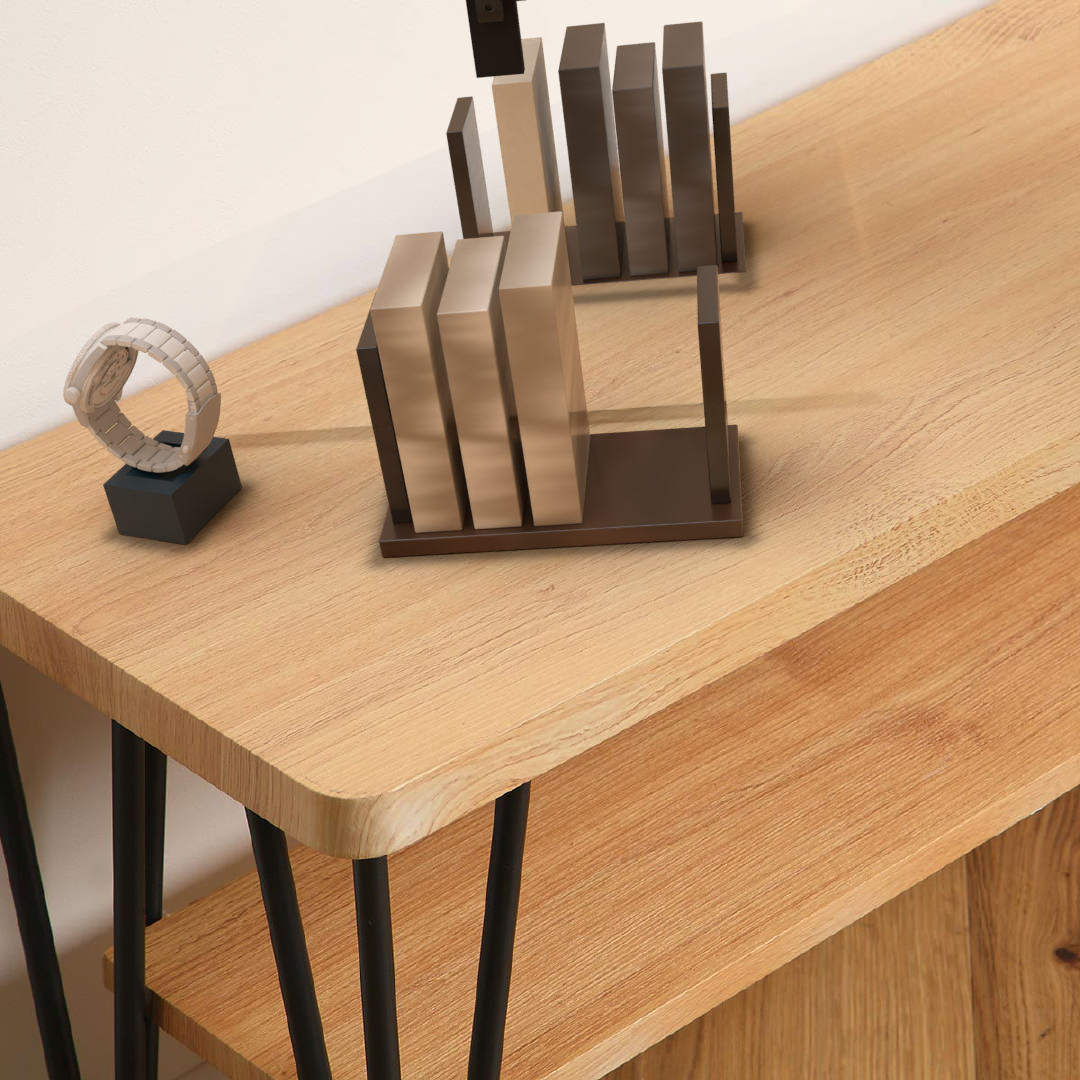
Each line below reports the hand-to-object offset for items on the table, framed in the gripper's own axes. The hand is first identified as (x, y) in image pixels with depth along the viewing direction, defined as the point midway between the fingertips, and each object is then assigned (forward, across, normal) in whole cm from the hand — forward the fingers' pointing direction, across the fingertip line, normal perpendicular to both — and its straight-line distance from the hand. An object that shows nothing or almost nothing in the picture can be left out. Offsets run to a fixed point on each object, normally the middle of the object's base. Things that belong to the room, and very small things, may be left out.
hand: (511, 35), depth 97 cm
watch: (+16, +26, -18) cm, 35 cm away
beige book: (+14, 0, 0) cm, 15 cm away
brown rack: (+15, +27, +3) cm, 31 cm away
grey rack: (+16, 0, +4) cm, 16 cm away
